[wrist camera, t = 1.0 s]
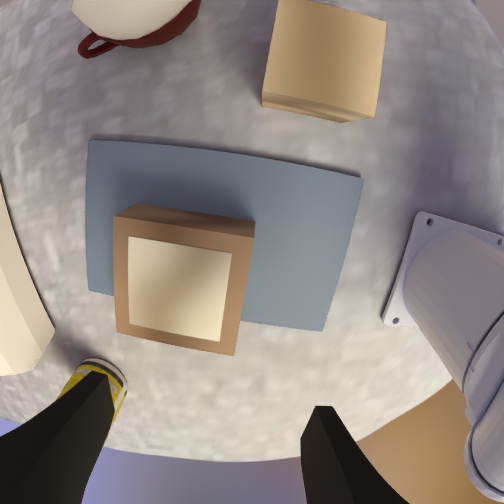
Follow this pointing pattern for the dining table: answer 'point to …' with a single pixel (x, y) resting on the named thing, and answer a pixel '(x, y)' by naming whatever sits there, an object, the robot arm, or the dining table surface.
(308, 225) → the board
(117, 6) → the cocoa
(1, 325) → the crystal
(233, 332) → the walnut base block
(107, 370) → the supplement bottle
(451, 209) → the dining table surface
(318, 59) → the maple block
